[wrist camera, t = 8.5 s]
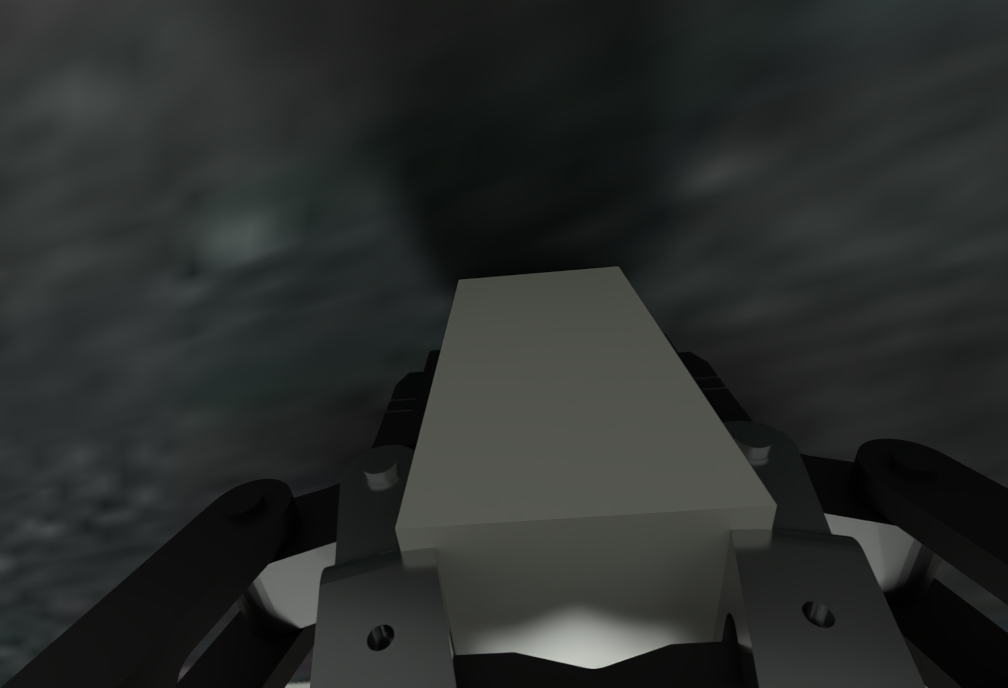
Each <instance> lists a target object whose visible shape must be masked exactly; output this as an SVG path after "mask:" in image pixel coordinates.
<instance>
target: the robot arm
mask: <svg viewBox="0 0 1008 688" xmlns="http://www.w3.org/2000/svg"><path fill="white" fill-rule="evenodd" d="M663 334H664V336H665V337H666V339H667V340H668V342H669V343H670V345H671V346H672V348H673V349H674V351H675V352H676V354H677V355H678V357H679V358H680V360H681V361H682V363H683V364H684V366H685V367H686V369H687V370H688V372H689V373H690V375H691V376H692V378H693V379H694V381H695V382H696V384H697V385H698V387H699V388H700V390H701V391H702V393H703V394H704V396H705V397H706V399H707V400H708V402H709V403H710V405H711V406H712V408H713V409H714V411H715V412H716V414H717V415H718V417H719V419H720V420H721V422H722V423H723V425H724V426H725V428H726V429H727V431H728V432H729V434H730V435H731V437H732V438H733V440H734V441H735V443H736V444H737V446H738V447H739V449H740V450H741V452H742V453H743V455H744V456H745V458H746V459H747V461H748V462H749V464H750V465H751V467H752V468H753V470H754V471H755V473H756V474H757V476H758V477H759V479H760V480H761V482H762V483H763V485H764V486H765V488H766V489H767V491H768V492H769V494H770V495H771V497H772V498H773V500H774V501H775V503H776V504H777V507H776V512H775V517H774V521H773V526H772V530H770V529H734V530H731V532H730V538H729V544H728V550H727V557H726V563H725V569H724V575H723V581H722V587H721V593H720V600H719V606H718V612H717V618H716V624H715V630H714V637H713V642H702V643H682V644H670V645H667V646H664V647H661V648H658V649H655V650H652V651H650V652H647V653H644V654H641V655H638V656H635V657H632V658H629V659H626V660H623V661H620V662H617V663H614V664H611V665H609V666H606V667H602V668H598V669H590V668H584V667H580V666H575V665H571V664H566V663H561V662H557V661H552V660H548V659H543V658H539V657H534V656H530V655H525V654H520V653H516V652H505V653H485V654H466V655H457V652H456V647H455V642H454V638H453V633H452V629H451V624H450V619H449V615H448V610H447V605H446V601H445V596H444V592H443V587H442V582H441V578H440V573H439V568H438V564H437V559H436V555H435V550H434V548H426V549H416V550H408V551H401V550H400V546H399V542H398V538H397V535H396V531H395V527H396V523H397V519H398V516H399V512H400V508H401V504H402V500H403V496H404V492H405V488H406V484H407V480H408V476H409V473H410V469H411V465H412V461H413V457H414V453H415V449H416V445H417V441H418V437H419V433H420V430H421V426H422V422H423V418H424V414H425V410H426V406H427V402H428V398H429V394H430V390H431V387H432V383H433V379H434V375H435V371H436V367H437V363H438V359H439V355H440V351H441V350H434V351H430V352H429V356H428V359H427V362H426V366H425V369H424V372H414V373H409V374H407V375H406V376H405V377H404V378H403V379H402V380H401V381H400V382H399V383H398V384H397V385H396V386H395V389H394V392H393V394H392V397H391V402H389V405H388V408H387V413H385V415H384V418H383V421H382V423H381V426H380V429H379V431H378V434H377V437H376V439H375V442H374V445H373V447H372V449H370V450H368V451H366V452H364V453H362V454H360V455H358V456H357V457H355V458H354V459H353V460H352V461H350V463H349V464H348V465H347V466H346V467H345V469H344V470H343V472H342V474H341V479H340V483H339V484H336V485H334V486H332V487H329V488H326V489H323V490H319V491H316V492H312V493H309V494H306V495H302V496H299V497H296V498H293V495H292V492H291V490H290V488H289V486H288V485H287V484H286V483H284V482H282V481H280V480H275V479H261V480H255V481H251V482H248V483H245V484H242V485H240V486H237V487H235V488H233V489H231V490H230V491H228V492H226V493H225V494H223V495H222V496H220V497H219V498H218V499H216V500H215V501H214V502H213V503H212V504H210V505H209V506H208V507H207V508H206V509H205V510H204V511H202V512H201V513H200V514H199V515H198V516H197V517H196V518H194V519H193V520H192V521H191V522H190V523H189V524H188V525H186V526H185V527H184V528H183V529H182V530H181V531H180V532H178V533H177V534H176V535H175V536H174V537H173V538H172V539H170V540H169V541H168V542H167V543H166V544H165V545H164V546H162V547H161V548H160V549H159V550H158V551H157V552H156V553H154V554H153V555H152V556H151V557H150V558H149V559H148V560H146V561H145V562H144V563H143V564H142V565H141V566H140V567H138V568H137V569H136V570H135V571H134V572H133V573H132V574H130V575H129V576H128V577H127V578H126V579H125V580H124V581H122V582H121V583H120V584H119V585H118V586H117V587H116V588H114V589H113V590H112V591H111V592H110V593H109V594H108V595H106V596H105V597H104V598H103V599H102V600H101V601H100V602H98V603H97V604H96V605H95V606H94V607H93V608H92V609H90V610H89V611H88V612H87V613H86V614H85V615H84V616H82V617H81V618H80V619H79V620H78V621H77V622H76V623H74V624H73V625H72V626H71V627H70V628H69V629H68V630H66V631H65V632H64V633H63V634H62V635H61V636H60V637H58V638H57V639H56V640H55V641H54V642H53V643H52V644H50V645H49V646H48V647H47V648H46V649H45V650H44V651H42V652H41V653H40V654H39V655H38V656H37V657H36V658H34V659H33V660H32V661H31V662H30V663H29V664H28V665H26V666H25V667H24V668H23V669H22V670H21V671H20V672H18V673H17V674H16V675H15V676H14V677H13V678H12V679H10V680H9V681H8V682H7V683H6V684H5V685H4V686H2V687H1V688H285V686H286V685H287V683H288V682H289V680H290V679H291V677H292V676H293V675H294V673H295V672H296V670H297V669H298V667H299V666H300V664H301V663H302V661H303V660H304V658H305V657H306V655H307V654H308V652H309V651H310V649H311V648H312V647H313V645H314V650H313V661H312V672H311V683H310V688H926V687H925V686H927V687H928V688H1008V633H1007V632H1006V631H1004V630H1003V629H1002V628H1000V627H999V626H998V625H996V624H995V623H994V622H992V621H991V620H990V619H988V618H987V617H986V616H984V615H983V614H982V613H980V612H979V611H978V610H976V609H975V608H974V607H972V606H971V605H970V604H968V603H967V602H966V601H964V600H963V599H962V598H960V597H959V596H958V595H956V594H955V593H954V592H952V591H951V590H950V589H948V588H947V587H946V586H945V585H943V584H942V583H941V582H939V581H938V580H937V579H935V578H934V577H935V574H936V572H937V570H938V568H939V565H940V563H941V561H942V559H944V560H945V561H947V562H948V563H949V564H951V565H952V566H954V567H955V568H956V569H958V570H959V571H961V572H962V573H963V574H965V575H966V576H968V577H969V578H970V579H972V580H973V581H975V582H976V583H978V584H979V585H980V586H982V587H983V588H985V589H986V590H987V591H989V592H990V593H992V594H993V595H994V596H996V597H997V598H999V599H1000V600H1001V601H1003V602H1004V603H1006V604H1007V605H1008V489H1007V488H1006V487H1004V486H1002V485H1000V484H998V483H996V482H995V481H993V480H991V479H989V478H987V477H985V476H984V475H982V474H980V473H978V472H976V471H974V470H972V469H971V468H969V467H967V466H965V465H963V464H961V463H960V462H958V461H956V460H954V459H952V458H950V457H948V456H947V455H945V454H943V453H941V452H939V451H937V450H934V449H932V448H929V447H927V446H924V445H921V444H918V443H913V442H909V441H904V440H898V439H876V440H871V441H868V442H866V443H864V444H862V445H861V446H860V447H859V449H858V451H857V454H856V458H855V461H854V462H849V461H842V460H835V459H827V458H820V457H814V456H808V455H804V454H800V452H799V450H798V448H797V446H796V444H795V443H794V442H793V441H792V440H791V439H790V438H789V437H788V436H787V435H785V434H784V433H782V432H781V431H779V430H777V429H775V428H772V427H770V426H767V425H764V424H761V423H756V422H752V421H751V419H750V418H749V417H748V415H747V414H746V413H745V411H744V410H743V409H742V407H741V406H740V405H739V403H738V402H737V401H736V399H735V398H734V397H733V395H732V394H731V393H730V392H729V390H728V389H726V388H725V385H724V384H723V382H722V381H721V380H720V378H717V374H716V373H715V372H714V370H713V369H712V368H711V366H710V365H709V364H708V362H706V361H704V360H703V359H701V358H699V357H698V356H696V355H694V354H693V353H691V352H681V353H678V352H677V350H676V349H675V347H674V346H673V344H672V343H671V341H670V340H669V339H668V337H667V336H666V334H665V333H663ZM235 602H236V603H237V605H238V607H239V609H240V611H239V613H238V614H237V615H236V616H235V617H234V618H233V620H232V621H231V622H230V623H229V624H228V625H227V627H226V628H225V629H224V630H223V631H222V632H221V634H220V635H219V636H218V637H217V638H216V639H215V640H214V642H213V643H212V644H211V645H210V646H209V647H208V649H207V650H206V651H205V652H204V653H203V654H202V656H201V657H200V658H199V659H198V660H197V661H196V663H195V664H194V665H193V666H192V667H191V668H190V670H189V671H188V672H187V673H186V674H185V675H184V677H183V678H182V679H181V680H180V681H179V682H178V683H177V680H178V676H179V672H180V670H181V668H182V665H183V664H184V662H185V660H186V658H187V657H188V656H189V654H190V653H191V652H192V650H193V649H194V648H195V647H196V646H197V645H198V644H199V642H200V641H201V640H202V639H203V638H204V637H205V636H206V635H207V633H208V632H209V631H210V630H211V629H212V628H213V627H214V625H215V624H216V623H217V622H218V621H219V620H220V619H221V618H222V616H223V615H224V614H225V613H226V612H227V611H228V610H229V609H230V607H231V606H232V605H233V604H234V603H235Z"/></svg>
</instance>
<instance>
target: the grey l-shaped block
mask: <svg viewBox="0 0 1008 688" xmlns="http://www.w3.org/2000/svg"><path fill="white" fill-rule="evenodd" d="M776 507H777V504H776V503H775V501H774V500H773V498H772V497H771V495H770V494H769V492H768V491H767V489H766V488H765V486H764V485H763V483H762V482H761V480H760V479H759V477H758V476H757V474H756V473H755V471H754V470H753V468H752V467H751V465H750V464H749V462H748V461H747V459H746V458H745V456H744V455H743V453H742V452H741V450H740V449H739V447H738V446H737V444H736V443H735V441H734V440H733V438H732V437H731V435H730V434H729V432H728V431H727V429H726V428H725V426H724V425H723V423H722V422H721V420H720V419H719V417H718V415H717V414H716V412H715V411H714V409H713V408H712V406H711V405H710V403H709V402H708V400H707V399H706V397H705V396H704V394H703V393H702V391H701V390H700V388H699V387H698V385H697V384H696V382H695V381H694V379H693V378H692V376H691V375H690V373H689V372H688V370H687V369H686V367H685V366H684V364H683V363H682V361H681V360H680V358H679V357H678V355H677V354H676V352H675V351H674V349H673V348H672V346H671V345H670V343H669V342H668V340H667V339H666V337H665V336H664V334H663V333H662V331H661V330H660V328H659V327H658V325H657V324H656V322H655V321H654V319H653V318H652V316H651V315H650V313H649V312H648V310H647V309H646V307H645V306H644V304H643V302H642V301H641V299H640V298H639V296H638V295H637V293H636V292H635V290H634V289H633V287H632V286H631V284H630V283H629V281H628V280H627V278H626V277H625V275H624V274H623V272H622V271H621V269H620V268H619V266H617V267H605V268H593V269H581V270H569V271H558V272H546V273H534V274H522V275H510V276H498V277H486V278H474V279H463V280H459V281H458V285H457V289H456V293H455V297H454V301H453V305H452V308H451V312H450V316H449V320H448V324H447V328H446V332H445V336H444V340H443V344H442V348H441V351H440V355H439V359H438V363H437V367H436V371H435V375H434V379H433V383H432V387H431V390H430V394H429V398H428V402H427V406H426V410H425V414H424V418H423V422H422V426H421V430H420V433H419V437H418V441H417V445H416V449H415V453H414V457H413V461H412V465H411V469H410V473H409V476H408V480H407V484H406V488H405V492H404V496H403V500H402V504H401V508H400V512H399V516H398V519H397V523H396V527H395V531H396V535H397V538H398V542H399V546H400V550H401V551H408V550H416V549H426V548H434V550H435V555H436V559H437V564H438V568H439V573H440V578H441V582H442V587H443V592H444V596H445V601H446V605H447V610H448V615H449V619H450V624H451V629H452V633H453V638H454V642H455V647H456V652H457V655H466V654H485V653H505V652H516V653H520V654H525V655H530V656H534V657H539V658H543V659H548V660H552V661H557V662H561V663H566V664H571V665H575V666H580V667H584V668H590V669H598V668H602V667H606V666H609V665H611V664H614V663H617V662H620V661H623V660H626V659H629V658H632V657H635V656H638V655H641V654H644V653H647V652H650V651H652V650H655V649H658V648H661V647H664V646H667V645H670V644H682V643H702V642H713V637H714V630H715V624H716V618H717V612H718V606H719V600H720V593H721V587H722V581H723V575H724V569H725V563H726V557H727V550H728V544H729V538H730V532H731V530H734V529H770V530H772V526H773V521H774V517H775V512H776Z"/></svg>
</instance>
